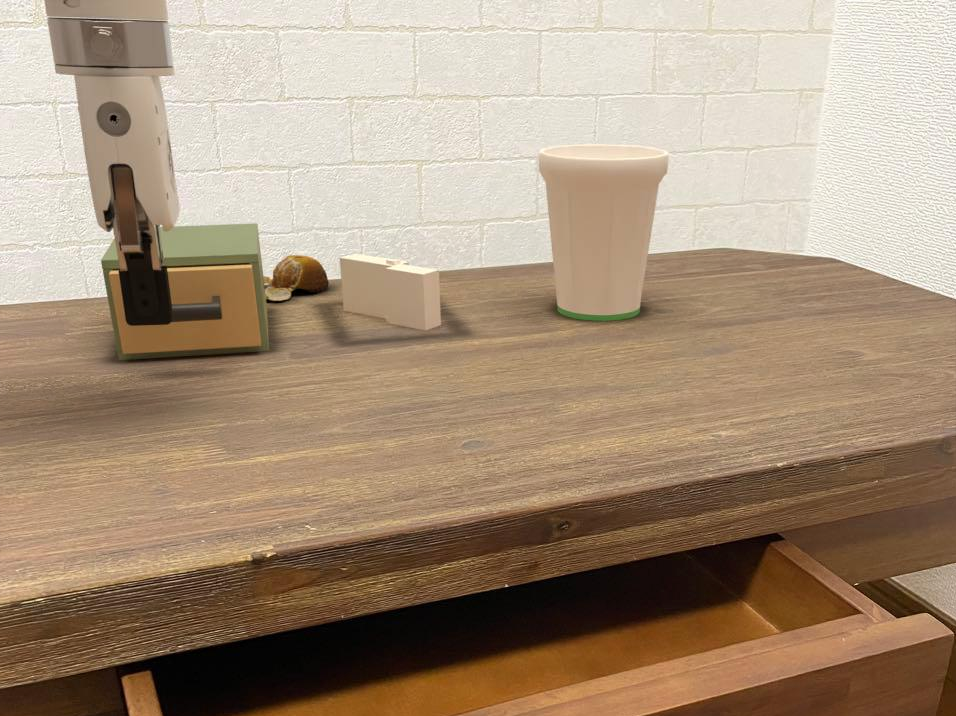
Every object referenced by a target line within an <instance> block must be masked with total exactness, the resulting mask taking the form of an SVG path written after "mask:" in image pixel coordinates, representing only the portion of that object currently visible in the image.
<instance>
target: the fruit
mask: <svg viewBox="0 0 956 716" xmlns="http://www.w3.org/2000/svg"><path fill="white" fill-rule="evenodd" d="M263 278H264V285H265V284H266V285H267V284H268V285H269V286H268V287H265V295H266V300H269V301H271V302H277V301H278V302H281V301H287V300H289V299H291V297H292V291H293V292H294V291H295V290H297V289H301V290H306V291H308V292H309V293H312V294H315V293H316V294H321V293H324V292H325V291H326V290H327V289H328V288H329V284H330V282H329V278H328V275H327V272H326V270H325V269H324V267H323V265H322V264H321V263H320V262H319V261H318V260H317V259H315V258H313V257H311V256H308V255H300V254H299V255H298V254H291V255H287V256H286V257H285V258H283V259H282V260H281V261H279V262H278V263H277V264H276V266H275V267H274V269H273V271H272V279H271V278H270V276H265V275H263Z"/></svg>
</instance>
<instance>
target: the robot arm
mask: <svg viewBox="0 0 956 716" xmlns="http://www.w3.org/2000/svg"><path fill="white" fill-rule="evenodd" d="M43 1H44V7H45V13H46V17H47V18H46V21H47V26H48V27H47V28H48V33H49V41H50V45H51V52H52V57H53V58H52V59H53V64H54V71H55V74H58V75H66V76H73V77H74V87H75V93H76V99H77V110H78V115H79V123H80V131H81V138H82V144H83V152H84V158H85V164H86V171H87V176H88V182H89V187H90V188H89V189H90V194H91V199H92V204H93V209H94V214H95V218H96V222H97V225H98V226H99V227H100V228H101V229H102V230H104V231H105V232H107V233H111V231H113V236H114V238H115V243H116V249H117V255H118V261H119V266H120V270H119V271H118V272H119V278H120V285H121V292H122V299H123V305H124V312H125V319H126V323H127V324H128V325H130V326H141V325H168V324H170V323H171V321H172V317H173V311H172V303H171V295H170V287H169V279H168V271H167V266H161V265H164V258H163V249H162V240H161V231H160V227H163V230H164V231H169V230H171V229H172V228H173V226H176V224H177V221H178V218H179V216H180V212H181V211H180V210H181V208H180V200H179V194H178V187H177V180H176V173H175V167H174V160H173V159H174V157H173V150H172V145H171V143H172V142H171V136H170V129H169V123H168V115H167V110H166V109H167V108H166V103H165V98H164V93H163V88H162V84H161V80H160V77H168V76H169V77H173V76H175V66H174V57H173V48H172V39H171V31H170V30H171V29H170V22H168V21H169V14H168V7H167V6H168V5H167V0H43Z"/></svg>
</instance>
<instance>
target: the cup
mask: <svg viewBox="0 0 956 716" xmlns="http://www.w3.org/2000/svg"><path fill="white" fill-rule="evenodd" d="M669 157H670V154H669V151H668V150H665V149H661V148H657V147H650V146H644V145H643V146H642V145H633V144H632V145H629V144H613V143H611V144H608V143H607V144H605V143H586V144H583V143H582V144H566V145H555V146H548V147H544V148H541V149H540V151H539V152H538V172H539V173H540V175H541V177H542V179H543V180H544V182H545V192H546V202H547V209H548V210H547V213H548V223H549V232H550V233H549V234H550V243H551V244H550V245H551V255H552V263H553V275H554V285H555V293H556V294H555V296H556V306H557V312H558V313H559V314H561V315H562V316H565V317H568V318H572V319H574V320H582V321H590V322H591V321H594V322H611V321H622V320H626V319H631V318H634V317H636V316H638V315H639V314H640V312H641V300H642V294H643V288H644V282H645V275H646V269H647V264H648V263H647V262H648V257H649V252H650V251H649V250H650V245H651V244H650V243H651V237H652V231H653V225H654V224H653V223H654V218H655V212H656V206H657V205H656V204H657V199H658V193H659V186H660V183H661V182H662V181H663V179H664V177H665V176H666V175H667V174H668V167H669Z"/></svg>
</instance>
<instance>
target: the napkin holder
mask: <svg viewBox="0 0 956 716" xmlns="http://www.w3.org/2000/svg"><path fill="white" fill-rule="evenodd" d="M339 267H340V268H339V271H340V280H341V283H340V284H341V294H342V295H341V296H342V307H343V312H347V313H348V312H349V313H354V314H359V315H363V316H369V317H375V318H380V319H385V322H387V323H388V324H390V325H394V326H401V327H405V328H411V329H416V330H421V331H429V330H431V329H434V328H437V327H439V326H441V325H442V320H441V315H442V314H441V296H440V295H441V292H440V289H441V288H440V269H436V268H430V267H423V266H416V265H411V264H410V262H409V261H406V260H400V259H397V258H385V257H379V256H373V255H368V254H367V255H366V254H362V253H361V254H360V253H353V254H349V255H345V256H341V257H339Z"/></svg>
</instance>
